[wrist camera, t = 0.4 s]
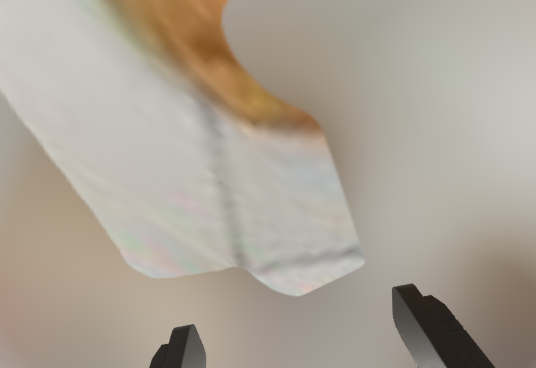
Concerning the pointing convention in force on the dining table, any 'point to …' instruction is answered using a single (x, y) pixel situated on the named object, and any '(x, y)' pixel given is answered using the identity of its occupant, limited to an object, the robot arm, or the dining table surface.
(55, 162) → the dining table surface
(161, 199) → the dining table surface
